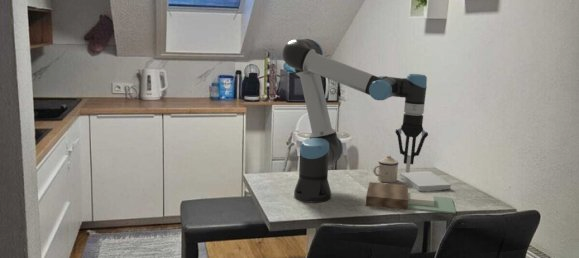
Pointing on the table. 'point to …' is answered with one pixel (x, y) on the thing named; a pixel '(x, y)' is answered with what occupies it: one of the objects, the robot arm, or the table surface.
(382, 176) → the teacup with lid
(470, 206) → the table surface
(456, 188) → the table surface
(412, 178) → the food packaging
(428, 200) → the ceramic tile
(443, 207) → the rubber mat
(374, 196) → the walnut board
